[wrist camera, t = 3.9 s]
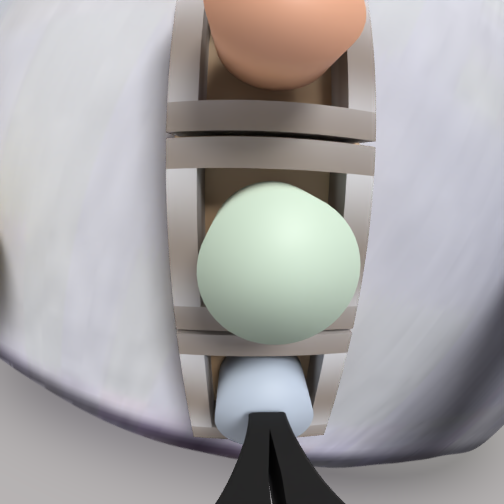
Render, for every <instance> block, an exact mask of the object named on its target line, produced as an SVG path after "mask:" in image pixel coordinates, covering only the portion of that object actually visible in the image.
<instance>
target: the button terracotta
mask: <svg viewBox="0 0 504 504" xmlns="http://www.w3.org/2000/svg"><path fill="white" fill-rule="evenodd" d="M203 3H204V8H205V12H206V16H207V19H208V23H209V26H210V30H211V34H212V37H213V41H214V45H215V48H216V52H217V54H218V57H219V59H220V61H221V62H222V64H223V65H224V66H225V68H226V69H227V70H228V71H229V72H230V73H231V74H233V75H234V76H235V77H236V78H238V79H239V80H241V81H243V82H245V83H247V84H249V85H251V86H254V87H257V88H261V89H265V90H273V91H285V90H293V89H297V88H300V87H303V86H306V85H308V84H310V83H312V82H314V81H315V80H316V79H318V78H319V77H320V76H321V75H322V74H323V73H324V72H325V71H326V70H327V69H328V68H329V67H330V66H331V65H332V64H333V63H334V62H335V61H336V60H337V59H338V58H339V57H340V56H341V55H342V54H343V53H344V52H345V51H346V50H348V49H349V48H350V47H351V46H352V45H353V44H354V43H355V42H356V40H357V39H358V38H359V37H360V35H361V33H362V31H363V29H364V26H365V23H366V6H365V1H364V0H203Z"/></svg>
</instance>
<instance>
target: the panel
mask: <svg viewBox="0 0 504 504" xmlns="http://www.w3.org/2000/svg"><path fill="white" fill-rule="evenodd" d="M364 1H365V6H366V23H365V26H364V29H363V31H362V33H361V35H360V37H359V38H358V39H357V40H356V42H355V43H354V44H353V45H352V46H351V47H350V48H349V49H348V50H346V51H345V52H344V53H343V54H342V55H341V56H340V57H339V58H338V59H337V60H336V61H335V62H334V63H333V64H332V65H331V66H330V67H329V68H328V69H327V70H326V71H325V72H324V73H323V74H322V75H321V76H320V77H319V78H318V79H316V80H315V81H314V82H312V83H310V84H308V85H306V86H303V87H300V88H297V89H293V90H285V91H273V90H265V89H261V88H257V87H254V86H251V85H249V84H247V83H245V82H243V81H241V80H239V79H238V78H236V77H235V76H234V75H233V74H231V73H230V72H229V71H228V70H227V69H226V68H225V66H224V65H223V64H222V62H221V61H220V59H219V57H218V54H217V52H216V48H215V45H214V41H213V37H212V34H211V30H210V26H209V23H208V19H207V16H206V12H205V8H204V3H203V0H177V1H176V8H175V16H174V24H173V33H172V42H171V53H170V65H169V79H168V96H167V120H166V132H167V133H170V134H173V135H175V138H166V202H167V227H168V245H169V260H170V274H171V285H172V296H173V306H174V315H175V324H176V329H178V331H177V340H178V348H179V355H180V362H181V369H182V375H183V381H184V387H185V393H186V399H187V405H188V410H189V415H190V421H191V426H192V431H193V435H194V437H202V438H220V439H228V438H226V437H225V436H224V435H222V434H221V432H220V431H219V430H218V429H217V427H216V424H215V410H216V399H217V389H218V379H219V370H220V366H221V364H222V362H223V360H224V359H225V357H226V356H297V357H298V358H299V360H300V362H301V365H302V369H303V373H304V377H305V381H306V384H307V388H308V392H309V396H310V400H311V404H312V408H313V420H312V423H311V424H310V426H309V427H308V428H307V430H306V431H305V432H304V433H302V434H301V435H300V436H298V437H306V436H317V435H324V432H325V429H326V426H327V423H328V420H329V417H330V414H331V411H332V407H333V404H334V401H335V397H336V394H337V390H338V387H339V383H340V379H341V376H342V372H343V368H344V364H345V360H346V356H347V352H348V348H349V343H350V339H351V335H352V332H351V330H350V329H352V328H353V325H354V320H355V316H356V311H357V305H358V300H359V295H360V289H361V283H362V277H363V271H364V264H365V258H366V251H367V243H368V235H369V227H370V217H371V207H372V196H373V183H374V167H375V147H371V146H364V145H359V143H363V142H373V141H376V87H375V65H374V50H373V38H372V28H371V19H370V11H369V4H368V0H364ZM264 181H277V182H284V183H288V184H291V185H293V186H296V187H298V188H300V189H301V190H303V191H305V192H307V193H309V194H311V195H312V196H314V197H316V198H318V199H320V200H321V201H323V202H325V203H327V204H328V205H330V206H331V207H332V208H333V209H335V210H336V211H337V212H338V213H339V214H340V215H341V216H342V217H343V218H344V219H345V221H346V222H347V224H348V225H349V226H350V228H351V230H352V232H353V234H354V236H355V238H356V241H357V244H358V248H359V253H360V276H359V281H358V285H357V288H356V291H355V293H354V296H353V298H352V299H351V301H350V303H349V305H348V306H347V308H346V309H345V311H344V312H343V313H342V314H341V315H340V317H339V318H338V319H337V320H336V321H335V322H333V323H332V324H331V325H330V326H329V327H327V328H326V329H324V330H323V331H321V332H320V333H318V334H316V335H314V336H312V337H310V338H307V339H305V340H302V341H299V342H295V343H289V344H281V345H268V344H260V343H255V342H252V341H248V340H245V339H243V338H241V337H238V336H236V335H235V334H233V333H231V332H230V331H228V330H227V329H225V328H224V327H223V326H222V325H221V324H220V323H218V322H217V321H216V320H215V318H214V317H213V316H212V315H211V313H210V312H209V311H208V309H207V307H206V306H205V304H204V302H203V299H202V297H201V295H200V291H199V287H198V282H197V261H198V255H199V251H200V248H201V245H202V243H203V240H204V238H205V236H206V234H207V232H208V230H209V228H210V226H211V224H212V222H213V220H214V218H215V216H216V214H217V212H218V210H219V209H220V207H221V206H222V205H223V203H224V202H225V201H226V200H227V199H228V198H229V197H230V196H231V195H233V194H234V193H235V192H237V191H238V190H240V189H241V188H244V187H246V186H248V185H251V184H254V183H258V182H264Z"/></svg>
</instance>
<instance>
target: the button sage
mask: <svg viewBox="0 0 504 504" xmlns="http://www.w3.org/2000/svg"><path fill="white" fill-rule="evenodd" d="M359 276H360V253H359V248H358V244H357V241H356V238H355V236H354V234H353V232H352V230H351V228H350V226H349V225H348V224H347V222H346V221H345V219H344V218H343V217H342V216H341V215H340V214H339V213H338V212H337V211H336V210H335V209H333V208H332V207H331V206H330V205H328V204H327V203H325V202H323V201H321V200H320V199H318V198H316V197H314V196H312V195H311V194H309V193H307V192H305V191H303V190H301V189H300V188H298V187H296V186H293V185H291V184H288V183H284V182H277V181H264V182H258V183H254V184H251V185H248V186H246V187H244V188H241V189H240V190H238V191H237V192H235V193H234V194H233V195H231V196H230V197H229V198H228V199H227V200H226V201H225V202H224V203H223V205H222V206H221V207H220V209H219V210H218V212H217V214H216V216H215V218H214V220H213V222H212V224H211V226H210V228H209V230H208V232H207V234H206V236H205V238H204V240H203V243H202V245H201V248H200V251H199V255H198V261H197V282H198V287H199V291H200V295H201V297H202V299H203V302H204V304H205V306H206V307H207V309H208V311H209V312H210V313H211V315H212V316H213V317H214V318H215V320H216V321H217V322H218V323H220V324H221V325H222V326H223V327H224V328H225V329H227V330H228V331H230V332H231V333H233V334H235V335H236V336H238V337H241V338H243V339H245V340H248V341H252V342H255V343H260V344H268V345H281V344H289V343H295V342H299V341H302V340H305V339H307V338H310V337H312V336H314V335H316V334H318V333H320V332H321V331H323V330H324V329H326V328H327V327H329V326H330V325H331V324H332V323H333V322H335V321H336V320H337V319H338V318H339V317H340V315H341V314H342V313H343V312H344V311H345V309H346V308H347V306H348V305H349V303H350V301H351V299H352V298H353V296H354V293H355V291H356V288H357V285H358V281H359Z"/></svg>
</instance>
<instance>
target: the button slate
mask: <svg viewBox="0 0 504 504" xmlns="http://www.w3.org/2000/svg"><path fill="white" fill-rule="evenodd" d="M251 412H284V413H286V416H287V419H288V421H289V424H290V426H291V428H292V430H293V433H294V435H295V437H298V436H300V435H301V434H302V433H304V432H305V431H306V430H307V428H308V427H309V426H310V424H311V423H312V420H313V408H312V404H311V400H310V396H309V392H308V388H307V384H306V381H305V377H304V373H303V369H302V365H301V362H300V360H299V358H298V357H297V356H226V357H225V359H224V360H223V362H222V364H221V366H220V370H219V379H218V389H217V399H216V410H215V424H216V427H217V429H218V430H219V431H220V432H221V434H222V435H224V436H225V437H226V438H228V439H230V440H232V441H234V442H236V443H239V444H243V443H244V440H245V436H246V432H247V427H248V418H249V414H250V413H251Z"/></svg>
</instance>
